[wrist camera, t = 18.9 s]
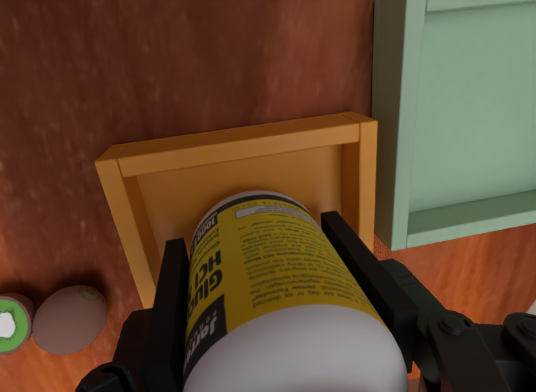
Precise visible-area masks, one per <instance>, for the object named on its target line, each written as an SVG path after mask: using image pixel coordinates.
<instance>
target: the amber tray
mask: <svg viewBox="0 0 536 392" xmlns="http://www.w3.org/2000/svg"><path fill="white" fill-rule="evenodd" d="M377 128H378V122H377V120H375V119H372V118H369V117H367V116H364V115H361V114H358V113H357V112H354V111H350V112H343V113H336V114H328V115H321V116H314V117H307V118H300V119H293V120H286V121H279V122H272V123H265V124H258V125H251V126H244V127H237V128H230V129H223V130H216V131H208V132H201V133H194V134H187V135H180V136H173V137H166V138H159V139H152V140H145V141H138V142H131V143H124V144H117V145H112V146H110V147H109V148H108V149H107V150H106V151H105V152H104V153H103V154H102V155H101V156H100V157H99V158H98V159H97V160H96V161H95V162H94V163H95V166H96V169H97V172H98V175H99V178H100V181H101V184H102V187H103V190H104V193H105V196H106V199H107V202H108V205H109V208H110V211H111V213H112V216H113V219H114V222H115V225H116V228H117V231H118V234H119V237H120V240H121V243H122V246H123V249H124V252H125V255H126V258H127V261H128V264H129V267H130V269H131V272H132V275H133V278H134V281H135V284H136V287H137V290H138V293H139V296H140V299H141V302H142V305H143V308H144V309H148V308H153V303H154V298H155V293H156V288H157V283H158V278H159V273H160V269H161V264H162V259H163V254H164V249H165V244H166V240H172V239H177V238H183V237H184V241H185V245H186V249H187V253H188V257H189V260H190V249H191V243H192V239H193V235H194V233H195V230H196V228H197V226H198V224H199V223H200V221H201V220H202V218H203V217H204V216H205V215H206V214H207V213H208V212H209V211H210V210H211V209H212V208H213V207H214V206H215V205H216V204H218V203H219V202H221V201H222V200H224V199H226V198H228V197H230V196H232V195H235V194H238V193H242V192H246V191H253V190H268V191H274V192H278V193H282V194H284V195H287V196H289V197H291V198H293V199H295V200H296V201H298V202H299V203H300V204H302V205H303V206H304V207H305V208H306V209H307V210H308V211H309V213H310V214H311V215H312V216H313V218H314V219H315V221H316V222H317V224H318V225H319V227H320V228H321V213H323V212H328V211H334V210H336V211H337V212H338V213H339V214H340V215H341V217H342V218H343V219H344V220H345V221H346V223H347V224H348V225H349V226H350V227H351V228H352V230H353V231H354V232H355V233H356V234H357V236H358V237H359V238H360V239H361V240H362V241H363V243H364V244H365V245H366V246H367V247H368V249H369V250H370V251H371V252H372V253H373V244H374V215H375V186H376V157H377Z"/></svg>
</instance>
